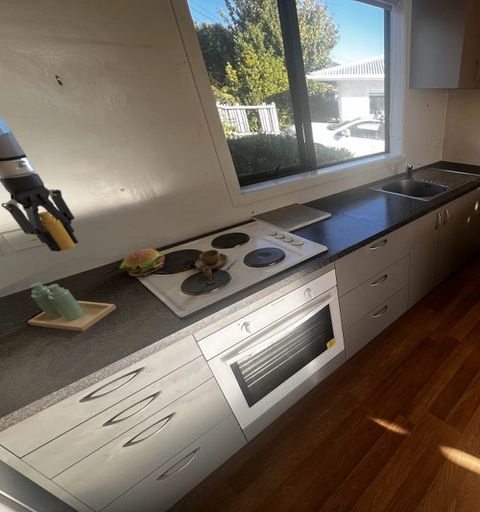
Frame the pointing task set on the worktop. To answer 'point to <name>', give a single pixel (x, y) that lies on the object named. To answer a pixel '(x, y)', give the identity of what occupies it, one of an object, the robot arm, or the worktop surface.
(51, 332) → the worktop surface
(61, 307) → the sage bottle
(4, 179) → the robot arm
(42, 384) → the worktop surface
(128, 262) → the food
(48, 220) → the mustard bottle
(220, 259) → the place setting
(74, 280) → the worktop surface
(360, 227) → the worktop surface
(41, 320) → the tray
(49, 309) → the sage bottle
